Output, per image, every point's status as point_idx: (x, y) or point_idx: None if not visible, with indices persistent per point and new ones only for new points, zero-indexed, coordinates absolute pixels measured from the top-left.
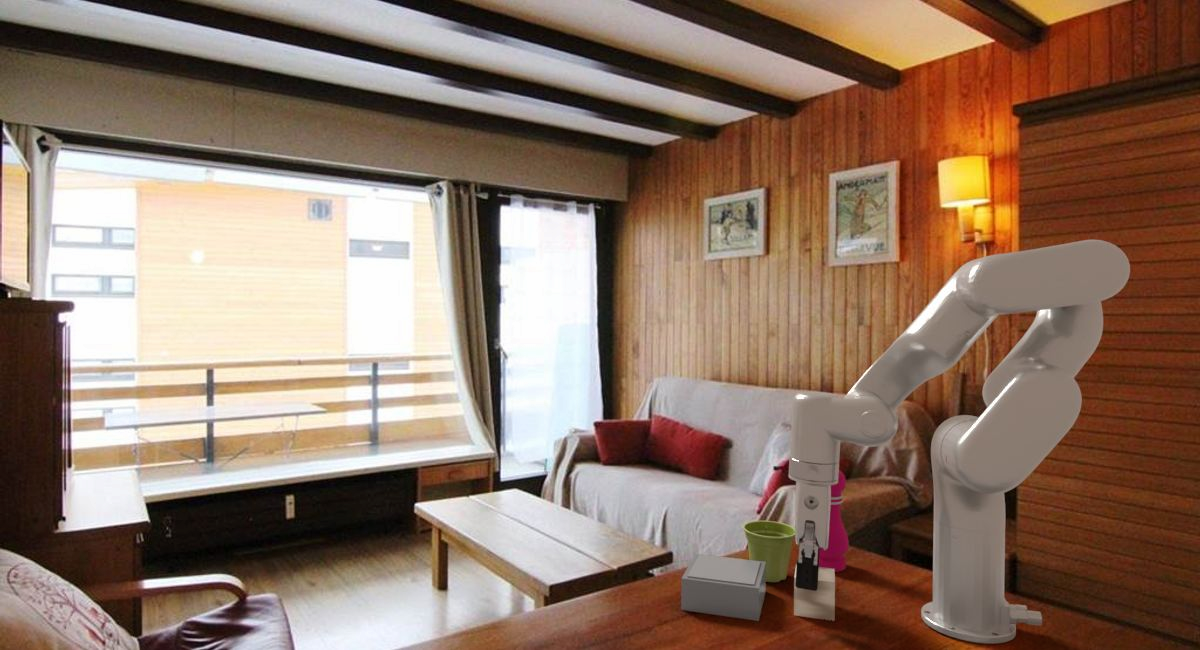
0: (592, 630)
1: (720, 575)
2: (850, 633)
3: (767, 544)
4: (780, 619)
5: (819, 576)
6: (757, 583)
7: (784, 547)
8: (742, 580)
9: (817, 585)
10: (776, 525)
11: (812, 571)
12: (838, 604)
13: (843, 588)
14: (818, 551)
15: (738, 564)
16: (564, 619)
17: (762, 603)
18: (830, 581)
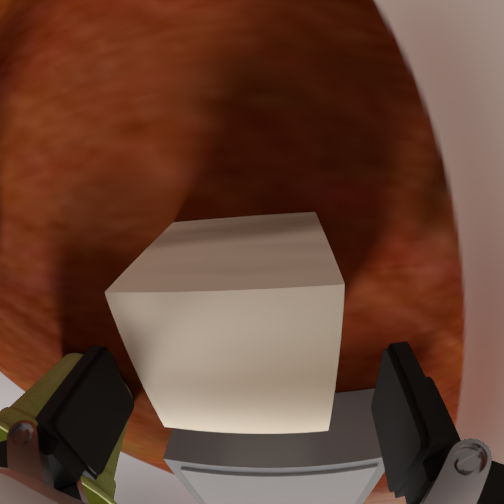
0: None
1: (330, 501)
2: (398, 157)
3: (107, 476)
4: (355, 354)
5: (272, 361)
6: (359, 464)
7: None
8: (352, 482)
9: (412, 355)
10: (1, 437)
11: (453, 425)
12: (158, 209)
13: (41, 210)
14: (70, 404)
15: (236, 494)
16: (396, 499)
17: None
18: (334, 308)
